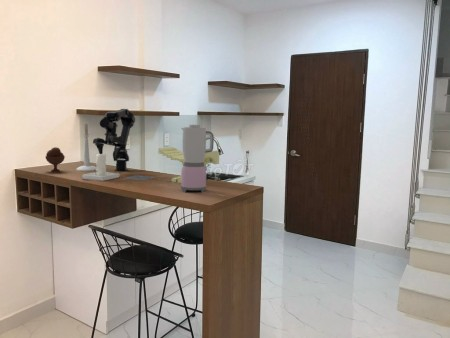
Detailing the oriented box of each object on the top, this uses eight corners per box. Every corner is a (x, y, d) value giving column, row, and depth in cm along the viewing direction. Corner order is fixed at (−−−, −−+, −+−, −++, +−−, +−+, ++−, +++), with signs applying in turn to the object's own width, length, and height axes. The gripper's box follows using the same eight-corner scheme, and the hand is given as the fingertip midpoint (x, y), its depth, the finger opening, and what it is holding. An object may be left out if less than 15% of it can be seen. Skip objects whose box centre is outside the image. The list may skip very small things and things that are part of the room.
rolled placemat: (104, 176, 210) (104, 154, 208) (106, 178, 206) (106, 154, 204) (95, 177, 207) (95, 154, 205) (97, 178, 203) (97, 155, 201)
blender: (181, 193, 174) (182, 124, 169) (179, 188, 186) (180, 124, 181) (214, 192, 177) (216, 125, 173) (210, 187, 189) (211, 125, 184)
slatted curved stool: (218, 181, 207) (219, 150, 205) (203, 186, 193) (204, 152, 191) (175, 176, 221) (175, 146, 219) (158, 179, 208) (158, 148, 205)
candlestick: (77, 171, 229) (76, 123, 225) (75, 168, 240) (73, 122, 236) (99, 170, 235) (98, 123, 231) (95, 167, 246) (94, 122, 242)
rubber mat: (136, 175, 219) (136, 175, 219) (156, 177, 214) (157, 177, 214) (121, 179, 206) (121, 178, 206) (143, 181, 201) (143, 180, 201)
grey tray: (99, 175, 215) (99, 171, 215) (119, 177, 210) (119, 173, 210) (82, 179, 203) (82, 174, 202) (102, 181, 197) (102, 177, 197)
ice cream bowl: (68, 170, 232) (67, 146, 230) (58, 173, 221) (58, 148, 219) (52, 169, 233) (51, 146, 231) (42, 172, 222) (41, 147, 220)
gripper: (103, 126, 208) (100, 154, 206) (132, 133, 221) (129, 159, 219) (93, 129, 216) (91, 155, 214) (122, 135, 229) (119, 160, 227)
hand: (108, 157), depth 218 cm, fingers open, 9 cm apart
